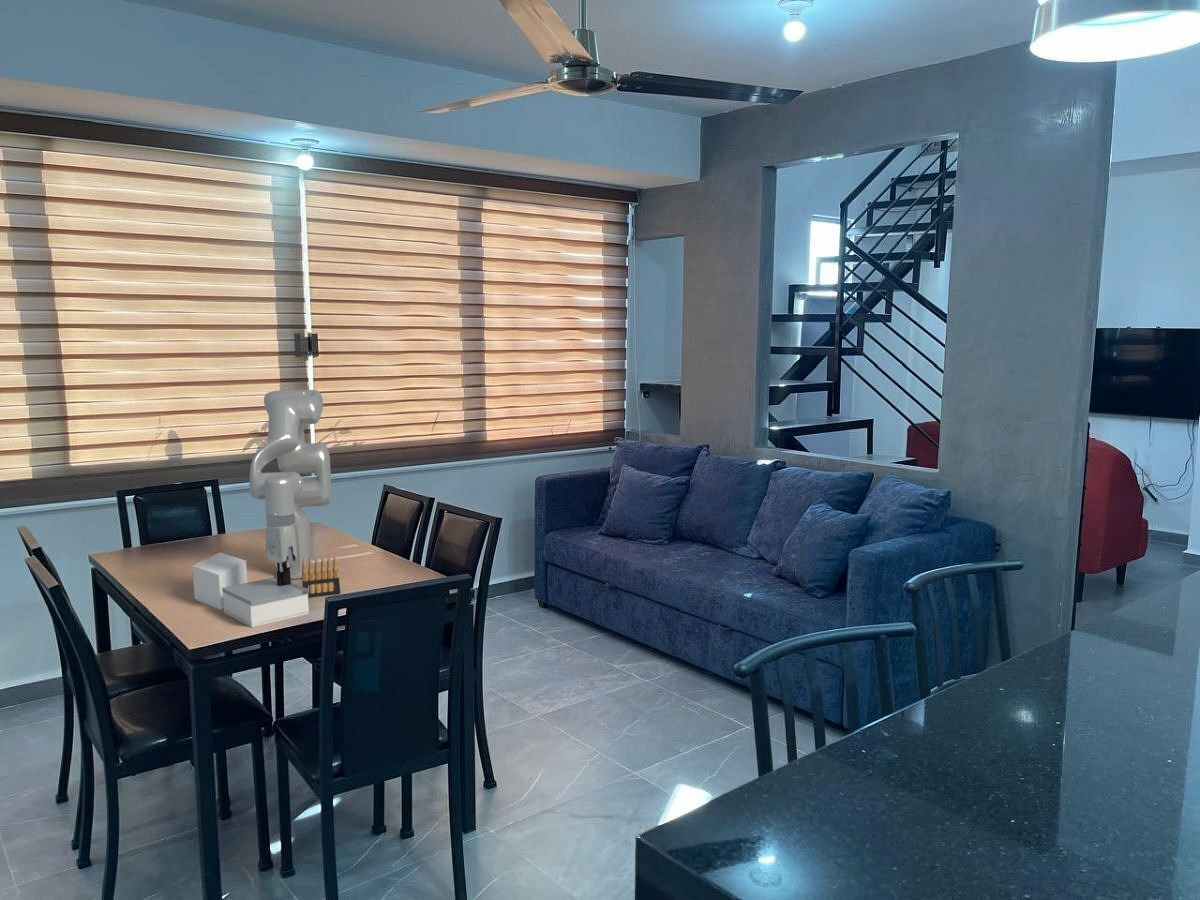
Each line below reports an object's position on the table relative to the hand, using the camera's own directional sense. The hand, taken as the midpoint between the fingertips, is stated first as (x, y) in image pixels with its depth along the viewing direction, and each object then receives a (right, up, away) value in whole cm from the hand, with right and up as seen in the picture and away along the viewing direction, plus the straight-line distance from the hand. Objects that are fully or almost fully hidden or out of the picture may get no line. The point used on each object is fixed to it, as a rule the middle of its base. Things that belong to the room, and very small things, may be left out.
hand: (284, 584), depth 242 cm
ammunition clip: (+6, -6, +14) cm, 16 cm away
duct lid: (-4, -1, -4) cm, 5 cm away
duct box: (-4, -8, -3) cm, 9 cm away
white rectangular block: (-24, -6, +14) cm, 28 cm away
